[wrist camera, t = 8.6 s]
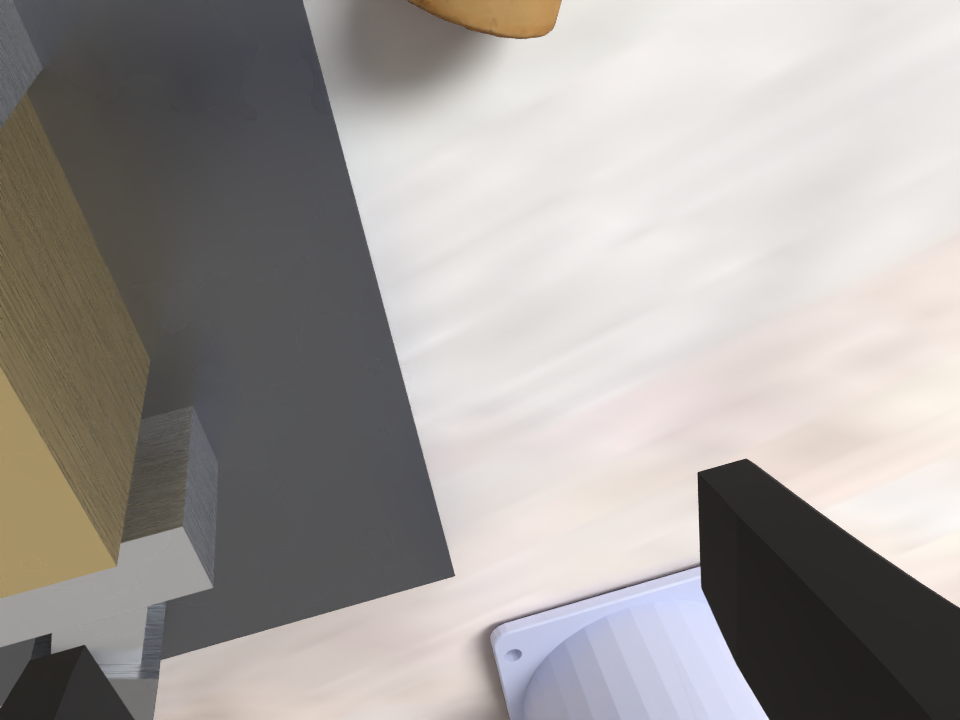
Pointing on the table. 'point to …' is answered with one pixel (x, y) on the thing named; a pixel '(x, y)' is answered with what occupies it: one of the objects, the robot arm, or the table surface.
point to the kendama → (497, 15)
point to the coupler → (59, 375)
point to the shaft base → (223, 334)
